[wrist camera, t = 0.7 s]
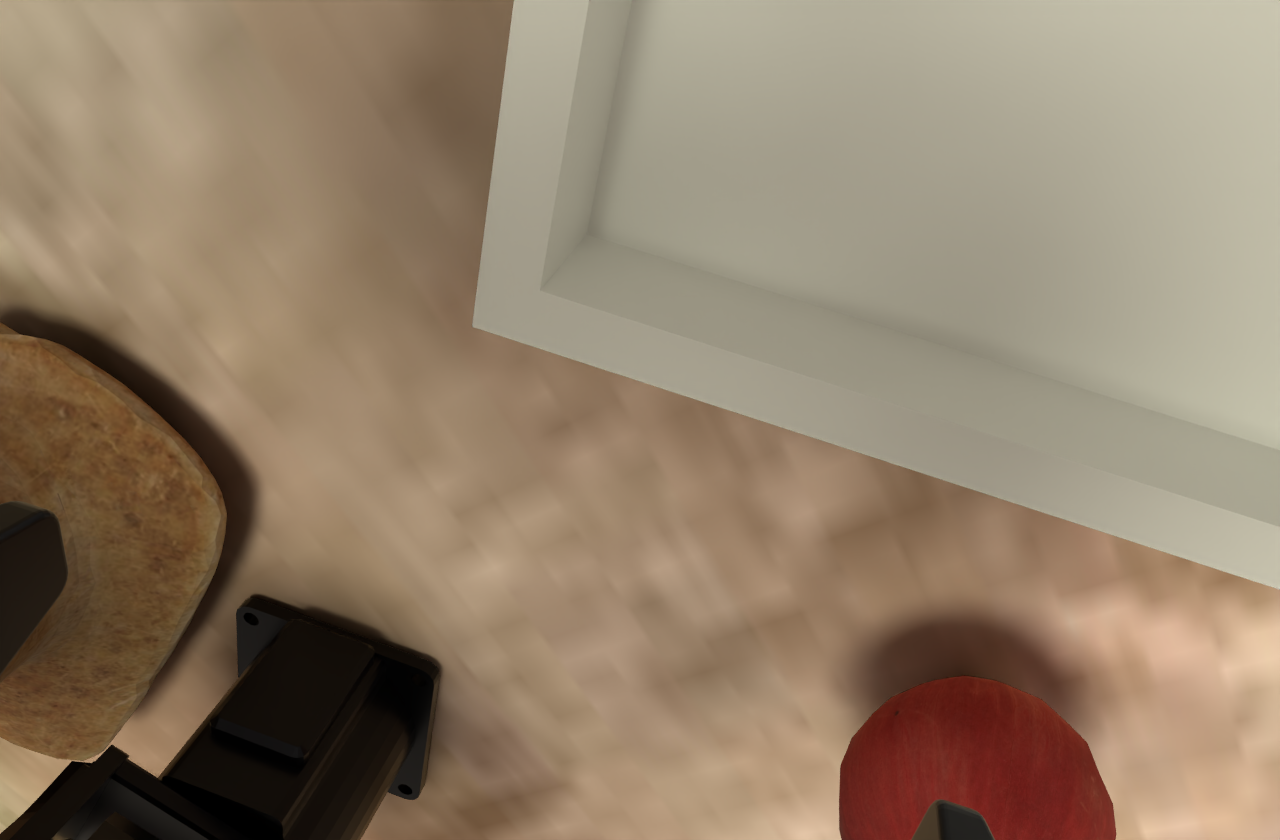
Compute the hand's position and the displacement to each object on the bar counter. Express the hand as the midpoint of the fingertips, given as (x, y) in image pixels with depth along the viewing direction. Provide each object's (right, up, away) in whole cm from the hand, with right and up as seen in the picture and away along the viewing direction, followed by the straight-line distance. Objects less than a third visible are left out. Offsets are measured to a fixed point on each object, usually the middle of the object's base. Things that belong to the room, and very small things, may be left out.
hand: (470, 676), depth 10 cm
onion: (+10, -4, +16) cm, 19 cm away
